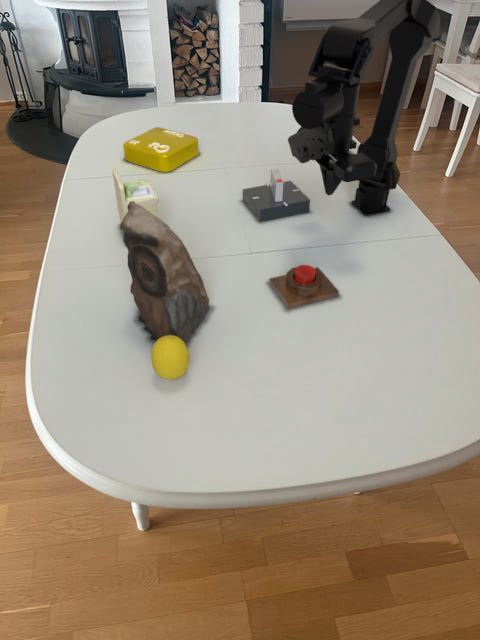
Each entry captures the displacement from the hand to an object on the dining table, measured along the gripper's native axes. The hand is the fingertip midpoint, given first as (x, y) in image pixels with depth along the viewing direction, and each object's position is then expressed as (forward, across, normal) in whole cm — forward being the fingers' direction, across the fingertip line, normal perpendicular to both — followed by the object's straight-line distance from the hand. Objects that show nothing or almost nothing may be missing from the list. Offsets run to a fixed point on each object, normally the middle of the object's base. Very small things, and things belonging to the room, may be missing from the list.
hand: (328, 194), depth 98 cm
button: (+9, +12, -10) cm, 18 cm away
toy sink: (+11, -18, -33) cm, 40 cm away
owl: (+11, +12, -34) cm, 38 cm away
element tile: (+12, -53, -19) cm, 58 cm away
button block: (+11, +12, -10) cm, 19 cm away
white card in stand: (+9, -18, -2) cm, 20 cm away
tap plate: (+12, -18, -2) cm, 22 cm away
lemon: (+11, +24, -38) cm, 46 cm away
